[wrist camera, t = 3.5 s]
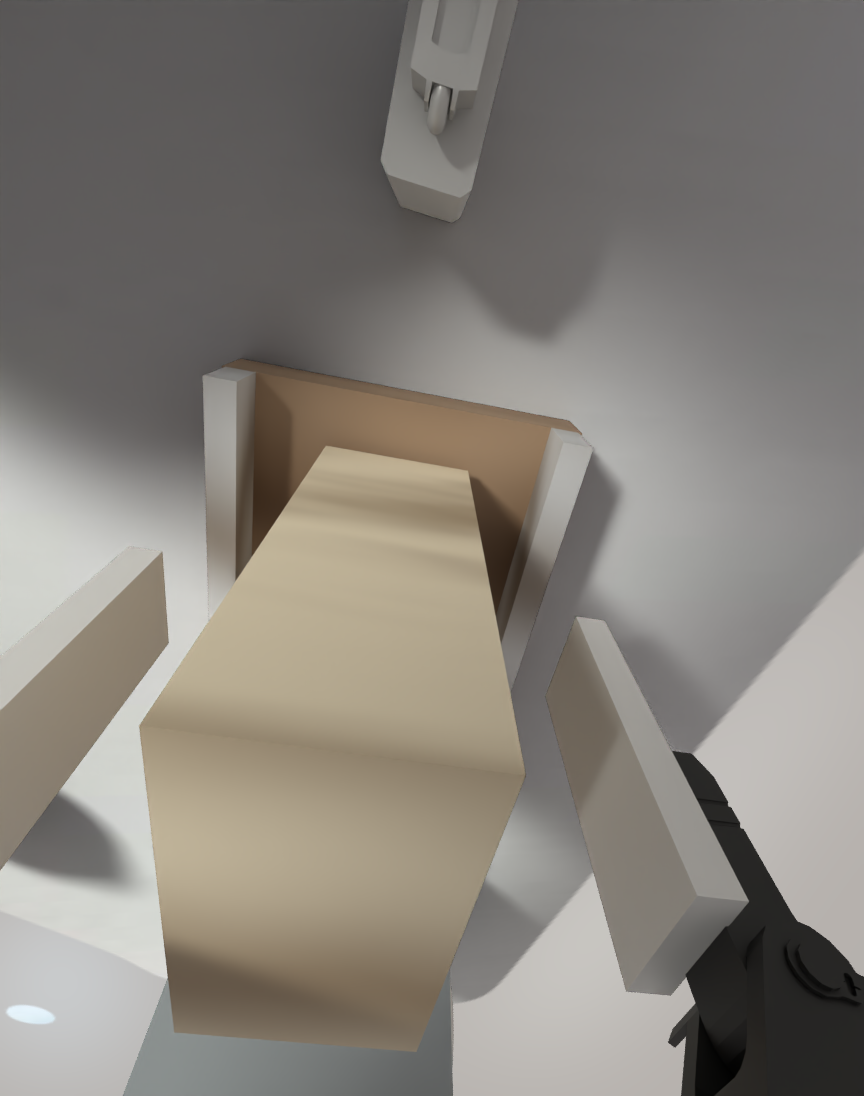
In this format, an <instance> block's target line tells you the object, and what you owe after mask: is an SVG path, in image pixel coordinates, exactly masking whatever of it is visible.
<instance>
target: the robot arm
mask: <svg viewBox="0 0 864 1096" xmlns="http://www.w3.org/2000/svg"><path fill="white" fill-rule="evenodd" d="M168 643H169V641H168V627H167V612H166V598H165V583H164V569H163V555H162V551H156V550H149V549H143V548H137V547H130V546H129V547H128V548H126V549H125V550H124V551H123V552H122V553H121V554H119V555H118V556H117V557H116V558H115V559H114V560H112V561H111V562H110V563H109V564H108V565H107V566H105V567H104V568H103V569H102V570H101V571H100V572H98V573H97V574H96V575H95V576H94V577H93V578H91V579H90V580H89V581H88V582H87V583H86V584H84V585H83V586H82V587H81V588H80V589H79V590H77V591H76V592H75V593H74V594H73V595H72V596H70V597H69V598H68V599H67V600H66V601H65V602H63V603H62V604H61V605H60V606H59V607H58V608H56V609H55V610H54V611H53V612H52V613H51V614H49V615H48V616H47V617H46V618H45V619H44V620H42V621H41V622H40V623H39V624H38V625H37V626H35V627H34V628H33V629H32V630H31V631H30V632H28V633H27V634H26V635H25V636H24V637H23V638H21V639H20V640H19V641H18V642H17V643H16V644H14V645H13V646H12V647H11V648H10V649H9V650H7V651H6V652H5V653H4V654H3V655H2V656H0V870H1V869H2V868H3V866H4V865H5V863H6V862H7V861H8V859H9V858H10V857H11V855H12V854H13V853H14V851H15V850H16V849H17V847H18V846H19V845H20V843H21V842H22V840H23V839H24V838H25V836H26V835H27V834H28V832H29V831H30V830H31V828H32V827H33V826H34V824H35V823H36V822H37V820H38V819H39V818H40V816H41V815H42V813H43V812H44V811H45V809H46V808H47V807H48V805H49V804H50V803H51V801H52V800H53V799H54V797H55V796H56V795H57V793H58V792H59V790H60V789H61V788H62V786H63V785H64V784H65V782H66V781H67V780H68V778H69V777H70V776H71V774H72V773H73V772H74V770H75V769H76V768H77V766H78V765H79V763H80V762H81V761H82V759H83V758H84V757H85V755H86V754H87V753H88V751H89V750H90V749H91V747H92V746H93V745H94V743H95V742H96V740H97V739H98V738H99V736H100V735H101V734H102V732H103V731H104V730H105V728H106V727H107V726H108V724H109V723H110V722H111V720H112V719H113V718H114V716H115V715H116V713H117V712H118V711H119V709H120V708H121V707H122V705H123V704H124V703H125V701H126V700H127V699H128V697H129V696H130V695H131V693H132V692H133V690H134V689H135V688H136V686H137V685H138V684H139V682H140V681H141V680H142V678H143V677H144V676H145V674H146V673H147V672H148V670H149V669H150V668H151V666H152V665H153V663H154V662H155V661H156V659H157V658H158V657H159V655H160V654H161V653H162V651H163V650H164V649H165V647H166V646H167V645H168ZM545 697H546V701H547V704H548V708H549V712H550V715H551V719H552V723H553V726H554V730H555V734H556V737H557V741H558V745H559V748H560V752H561V755H562V759H563V763H564V766H565V770H566V774H567V777H568V781H569V785H570V788H571V792H572V796H573V799H574V803H575V807H576V810H577V814H578V817H579V821H580V825H581V828H582V832H583V836H584V839H585V843H586V847H587V850H588V854H589V858H590V861H591V865H592V868H593V872H594V876H595V879H596V883H597V887H598V890H599V894H600V898H601V901H602V905H603V908H604V912H605V916H606V920H607V923H608V927H609V930H610V934H611V938H612V941H613V945H614V949H615V952H616V956H617V960H618V963H619V967H620V971H621V974H622V978H623V981H624V985H625V989H626V991H628V992H640V993H650V994H660V995H672V993H673V992H674V991H675V990H676V989H677V987H678V986H679V985H680V984H681V983H682V981H683V980H684V979H685V978H686V977H687V980H688V983H689V985H690V989H691V992H692V994H693V997H694V1000H695V1002H696V1003H695V1005H694V1006H693V1007H692V1008H691V1009H690V1010H689V1011H688V1012H687V1014H686V1015H685V1016H684V1017H683V1018H682V1019H681V1020H680V1021H679V1022H678V1024H677V1025H676V1026H675V1027H674V1028H673V1029H672V1033H671V1035H670V1038H669V1041H668V1043H669V1044H671V1045H672V1046H674V1047H676V1046H677V1045H678V1044H679V1043H680V1042H681V1041H682V1040H683V1039H684V1038H685V1037H686V1044H685V1056H684V1068H683V1080H682V1093H681V1096H864V977H863V976H861V975H859V974H857V973H856V972H855V971H854V969H853V967H852V966H851V964H850V963H849V961H848V960H847V959H846V958H845V957H844V956H843V955H842V954H841V953H840V952H839V951H838V950H837V949H836V947H834V945H833V944H832V943H831V942H830V941H829V940H827V939H826V938H824V937H823V936H822V935H820V934H819V933H818V932H816V931H815V930H814V929H812V928H811V927H809V926H807V925H805V924H802V923H800V922H798V921H797V920H796V919H795V917H794V916H793V914H792V913H791V911H790V909H789V908H788V906H787V904H786V902H785V901H784V899H783V897H782V895H781V894H780V892H779V890H778V888H777V887H776V885H775V883H774V881H773V880H772V878H771V876H770V874H769V873H768V871H767V869H766V867H765V866H764V864H763V862H762V860H761V859H760V857H759V855H758V854H757V852H756V850H755V848H754V847H753V845H752V843H751V841H750V839H749V838H748V836H747V834H746V832H745V831H744V829H741V828H740V822H739V821H738V819H737V817H736V815H735V813H734V812H733V810H732V808H731V807H728V801H727V799H726V798H725V796H724V794H723V792H722V791H721V789H720V787H719V785H718V784H717V782H716V780H715V778H714V777H713V776H712V775H711V774H710V772H709V771H708V770H706V768H705V767H704V766H703V765H702V764H701V763H700V762H699V761H698V760H697V759H696V758H695V757H694V756H693V755H692V754H690V753H682V752H675V751H671V749H670V747H669V745H668V743H667V741H666V739H665V737H664V735H663V733H662V731H661V729H660V727H659V725H658V723H657V721H656V719H655V718H654V716H653V714H652V712H651V710H650V708H649V706H648V704H647V702H646V700H645V698H644V696H643V694H642V692H641V690H640V688H639V686H638V684H637V682H636V681H635V679H634V677H633V675H632V673H631V671H630V669H629V667H628V665H627V663H626V661H625V659H624V657H623V655H622V653H621V651H620V649H619V647H618V646H617V644H616V642H615V640H614V638H613V636H612V634H611V632H610V630H609V628H608V626H607V624H606V622H605V621H603V620H597V619H590V618H584V617H578V616H576V617H575V620H574V623H573V625H572V628H571V631H570V633H569V636H568V638H567V641H566V644H565V646H564V649H563V652H562V654H561V657H560V659H559V662H558V665H557V667H556V670H555V672H554V675H553V678H552V680H551V683H550V686H549V688H548V691H547V693H546V696H545Z"/></svg>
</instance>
